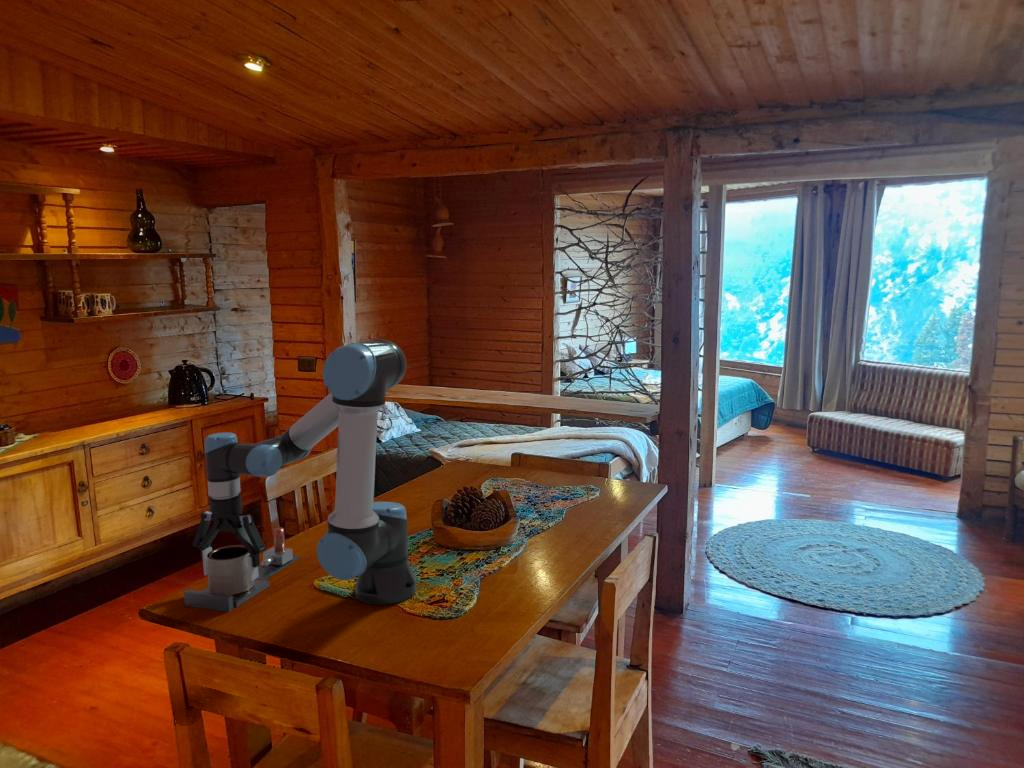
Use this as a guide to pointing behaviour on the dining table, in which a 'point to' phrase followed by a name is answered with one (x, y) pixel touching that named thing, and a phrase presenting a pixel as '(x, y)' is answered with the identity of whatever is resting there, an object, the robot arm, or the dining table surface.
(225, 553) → the planter
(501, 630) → the dining table surface
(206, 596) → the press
